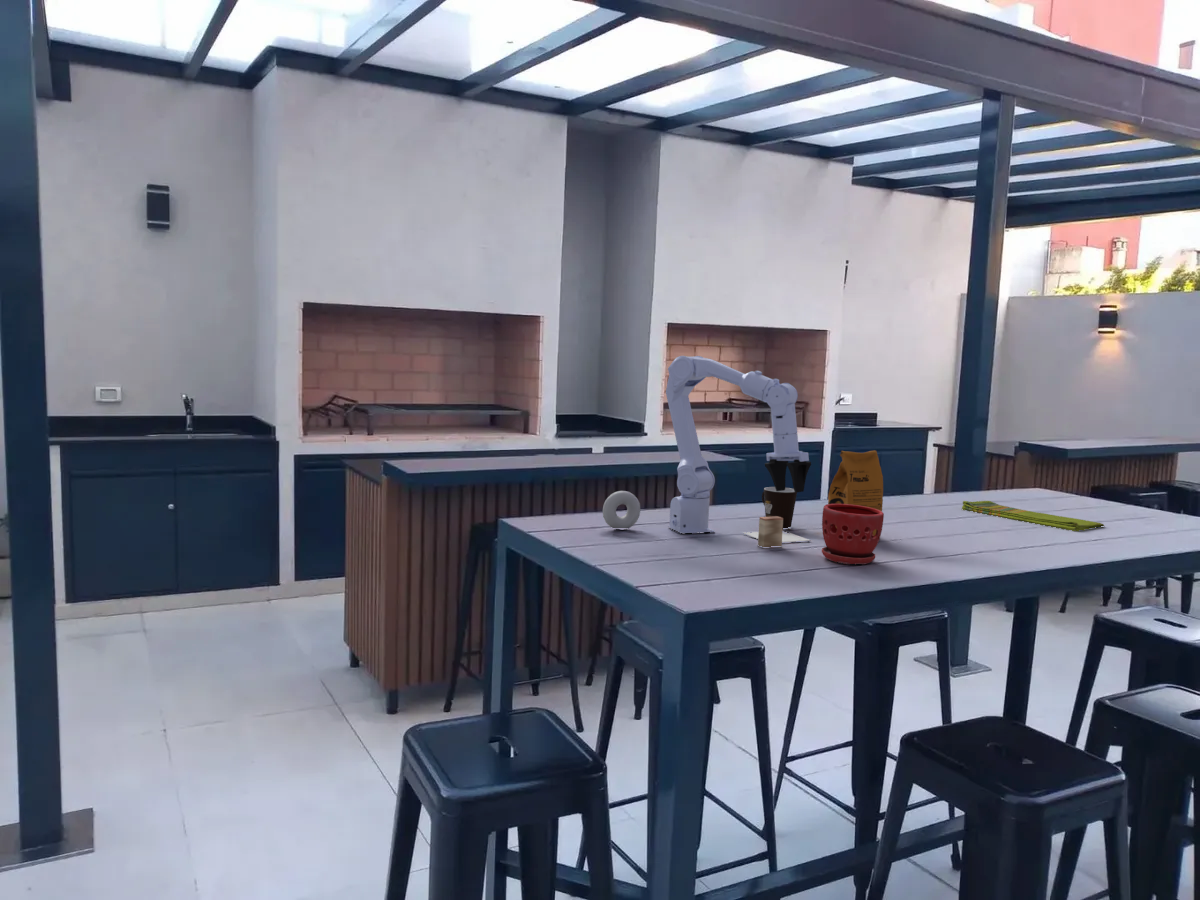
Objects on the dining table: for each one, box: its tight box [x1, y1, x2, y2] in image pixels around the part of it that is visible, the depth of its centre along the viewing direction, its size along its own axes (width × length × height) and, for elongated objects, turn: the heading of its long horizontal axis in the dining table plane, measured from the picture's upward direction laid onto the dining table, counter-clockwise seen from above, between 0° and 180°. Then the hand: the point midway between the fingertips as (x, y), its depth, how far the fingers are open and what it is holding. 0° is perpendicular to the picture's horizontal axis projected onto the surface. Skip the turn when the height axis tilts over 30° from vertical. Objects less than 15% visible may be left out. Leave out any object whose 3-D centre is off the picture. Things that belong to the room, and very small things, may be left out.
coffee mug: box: [761, 486, 798, 528], centre depth 242 cm, size 12×9×10 cm
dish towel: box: [961, 500, 1105, 532], centre depth 268 cm, size 15×36×3 cm, turn 33°
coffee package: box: [827, 450, 884, 536], centre depth 230 cm, size 10×12×22 cm
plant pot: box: [821, 503, 885, 566], centre depth 205 cm, size 13×13×12 cm
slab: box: [757, 516, 784, 547], centre depth 217 cm, size 5×2×7 cm, turn 113°
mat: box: [743, 530, 812, 542], centre depth 228 cm, size 12×12×1 cm
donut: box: [602, 490, 641, 529], centre depth 230 cm, size 10×4×10 cm, turn 110°
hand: (789, 491), depth 219 cm, fingers open, 7 cm apart
